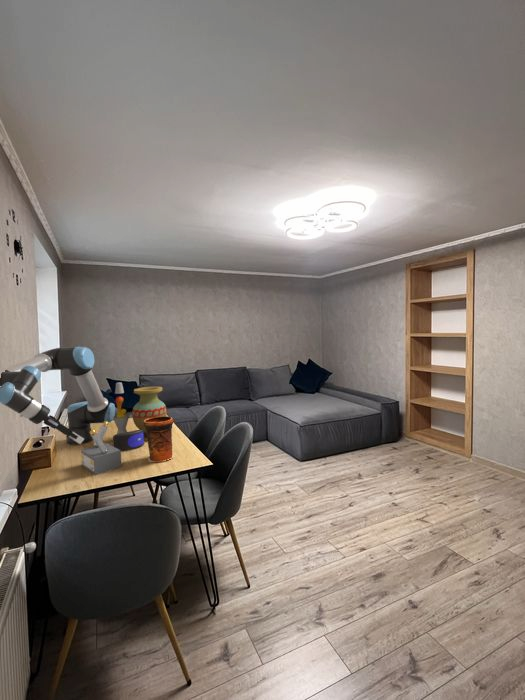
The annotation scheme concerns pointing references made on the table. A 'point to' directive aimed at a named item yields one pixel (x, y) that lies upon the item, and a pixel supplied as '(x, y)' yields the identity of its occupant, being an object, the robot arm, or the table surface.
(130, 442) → the dark grey curved slab
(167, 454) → the vessel
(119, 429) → the lava lamp
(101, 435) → the lever
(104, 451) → the lever
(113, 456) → the console
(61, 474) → the table surface
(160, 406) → the vase
